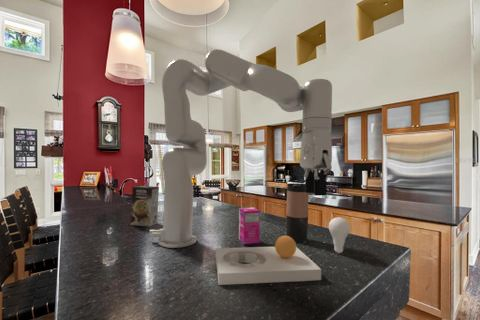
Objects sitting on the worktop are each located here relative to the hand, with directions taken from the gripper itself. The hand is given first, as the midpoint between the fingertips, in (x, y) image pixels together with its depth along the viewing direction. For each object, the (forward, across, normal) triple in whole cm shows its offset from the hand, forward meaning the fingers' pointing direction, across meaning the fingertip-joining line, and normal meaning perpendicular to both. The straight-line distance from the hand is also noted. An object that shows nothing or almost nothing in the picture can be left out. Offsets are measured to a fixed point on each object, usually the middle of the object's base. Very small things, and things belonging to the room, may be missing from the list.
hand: (315, 193), depth 65 cm
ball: (+14, 0, -8) cm, 16 cm away
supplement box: (+20, -20, -14) cm, 31 cm away
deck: (+19, 0, -14) cm, 24 cm away
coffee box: (+20, -47, -54) cm, 74 cm away
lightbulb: (+20, -8, +12) cm, 24 cm away
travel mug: (+20, -22, +4) cm, 30 cm away
